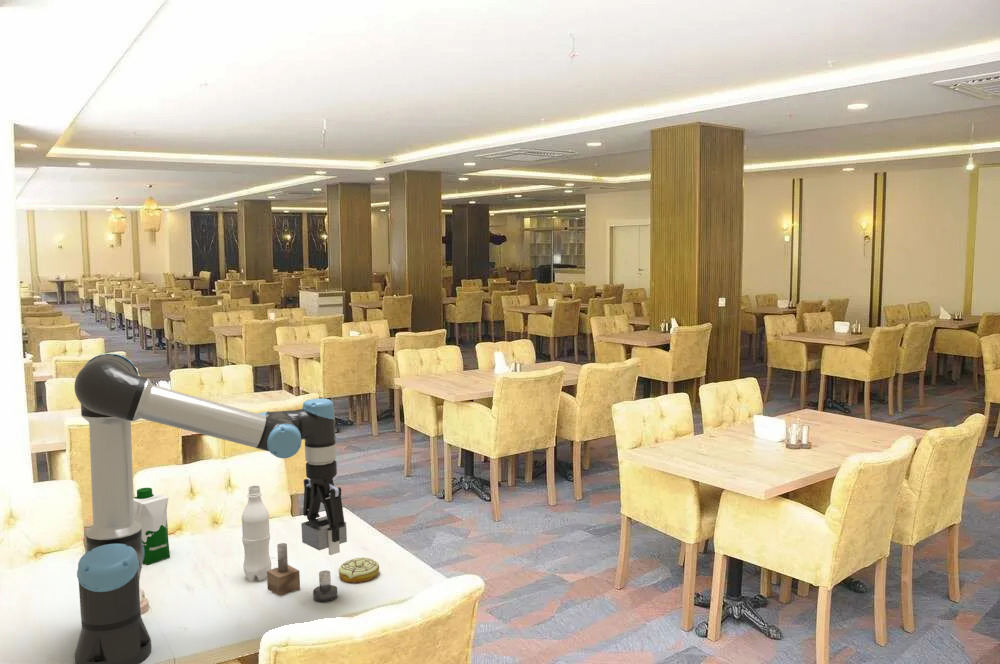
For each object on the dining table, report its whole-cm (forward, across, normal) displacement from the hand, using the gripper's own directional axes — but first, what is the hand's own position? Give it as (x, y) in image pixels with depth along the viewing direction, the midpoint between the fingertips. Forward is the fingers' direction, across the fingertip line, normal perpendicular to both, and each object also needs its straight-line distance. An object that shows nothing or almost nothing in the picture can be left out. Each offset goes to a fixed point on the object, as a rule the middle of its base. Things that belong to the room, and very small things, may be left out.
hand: (324, 548), depth 204 cm
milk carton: (+13, +58, +21) cm, 63 cm away
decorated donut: (+13, +6, -14) cm, 20 cm away
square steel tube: (-2, 0, 0) cm, 2 cm away
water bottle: (+13, +24, +6) cm, 28 cm away
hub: (+13, 0, 0) cm, 13 cm away
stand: (+13, +12, +5) cm, 18 cm away
